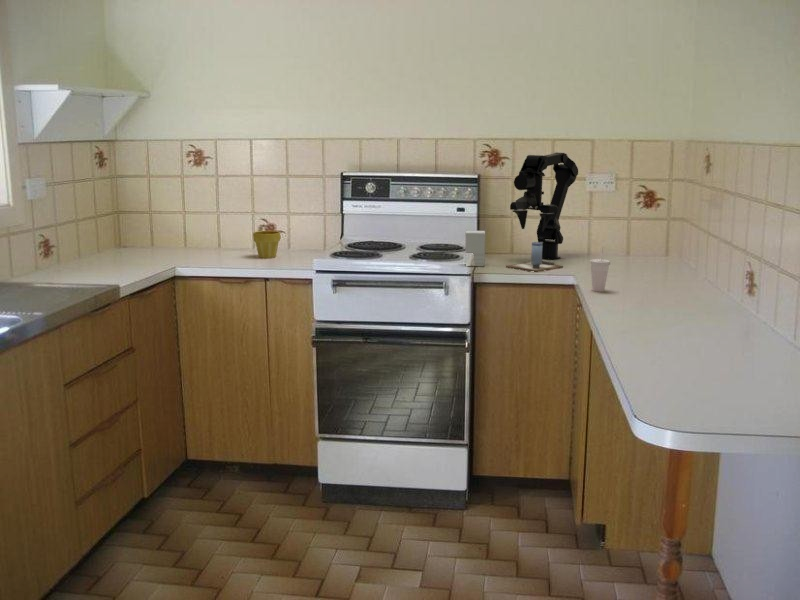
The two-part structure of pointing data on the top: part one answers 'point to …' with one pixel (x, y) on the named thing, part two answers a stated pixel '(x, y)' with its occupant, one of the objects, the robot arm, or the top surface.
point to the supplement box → (476, 246)
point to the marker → (536, 254)
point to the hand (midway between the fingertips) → (532, 230)
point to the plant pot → (266, 243)
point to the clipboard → (529, 267)
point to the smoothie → (599, 273)
